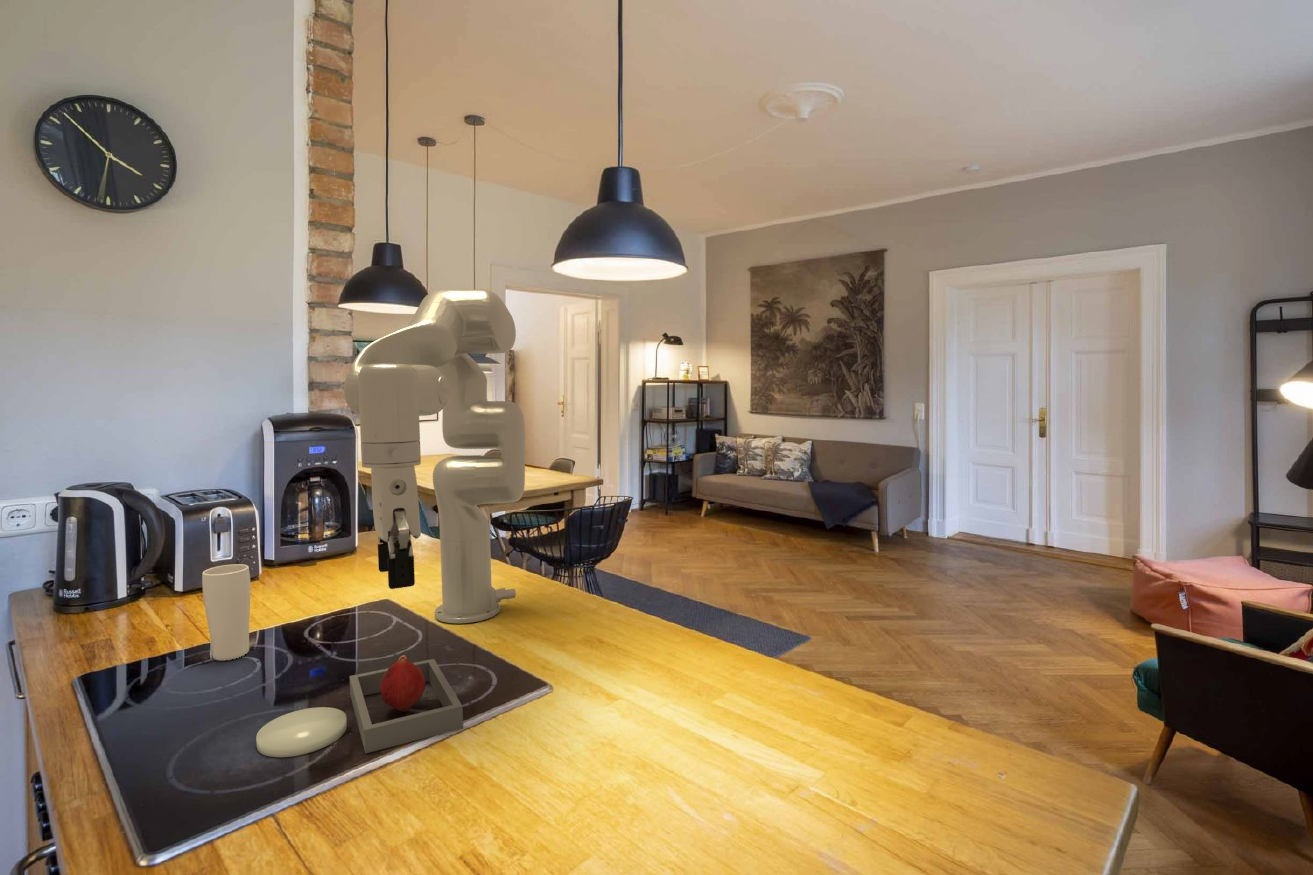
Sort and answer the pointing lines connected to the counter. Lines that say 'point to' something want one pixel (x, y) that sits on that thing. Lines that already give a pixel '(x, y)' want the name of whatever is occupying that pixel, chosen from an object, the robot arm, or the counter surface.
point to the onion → (402, 685)
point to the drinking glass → (227, 609)
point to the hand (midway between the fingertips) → (396, 578)
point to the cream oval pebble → (301, 732)
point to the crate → (409, 725)
